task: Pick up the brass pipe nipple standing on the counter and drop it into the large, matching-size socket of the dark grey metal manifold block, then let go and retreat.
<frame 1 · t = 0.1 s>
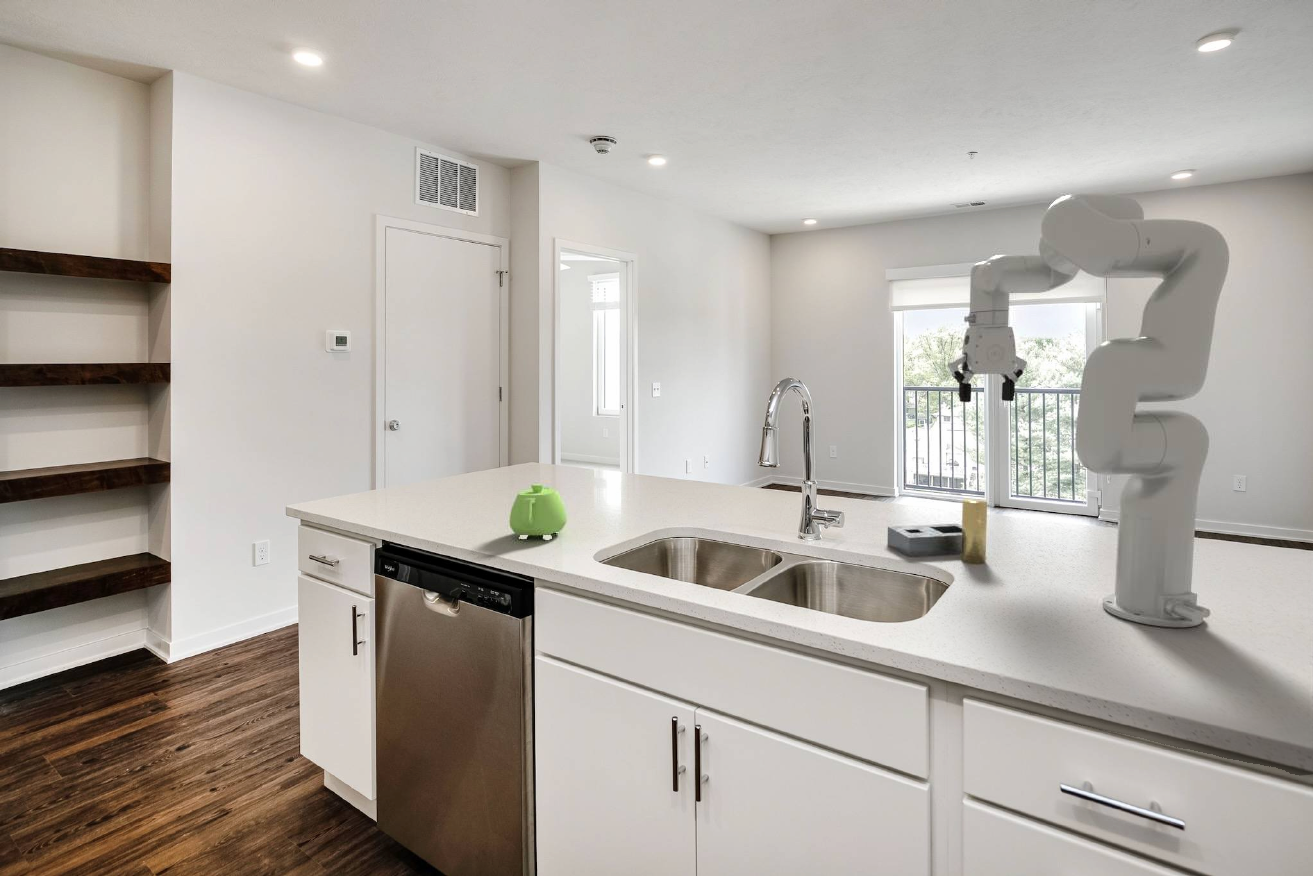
hand: (986, 401, 147), 31 cm above the worktop, fingers open, 9 cm apart
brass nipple: (973, 560, 137), on the worktop
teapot: (539, 536, 165), on the worktop
manifold block: (933, 548, 146), on the worktop
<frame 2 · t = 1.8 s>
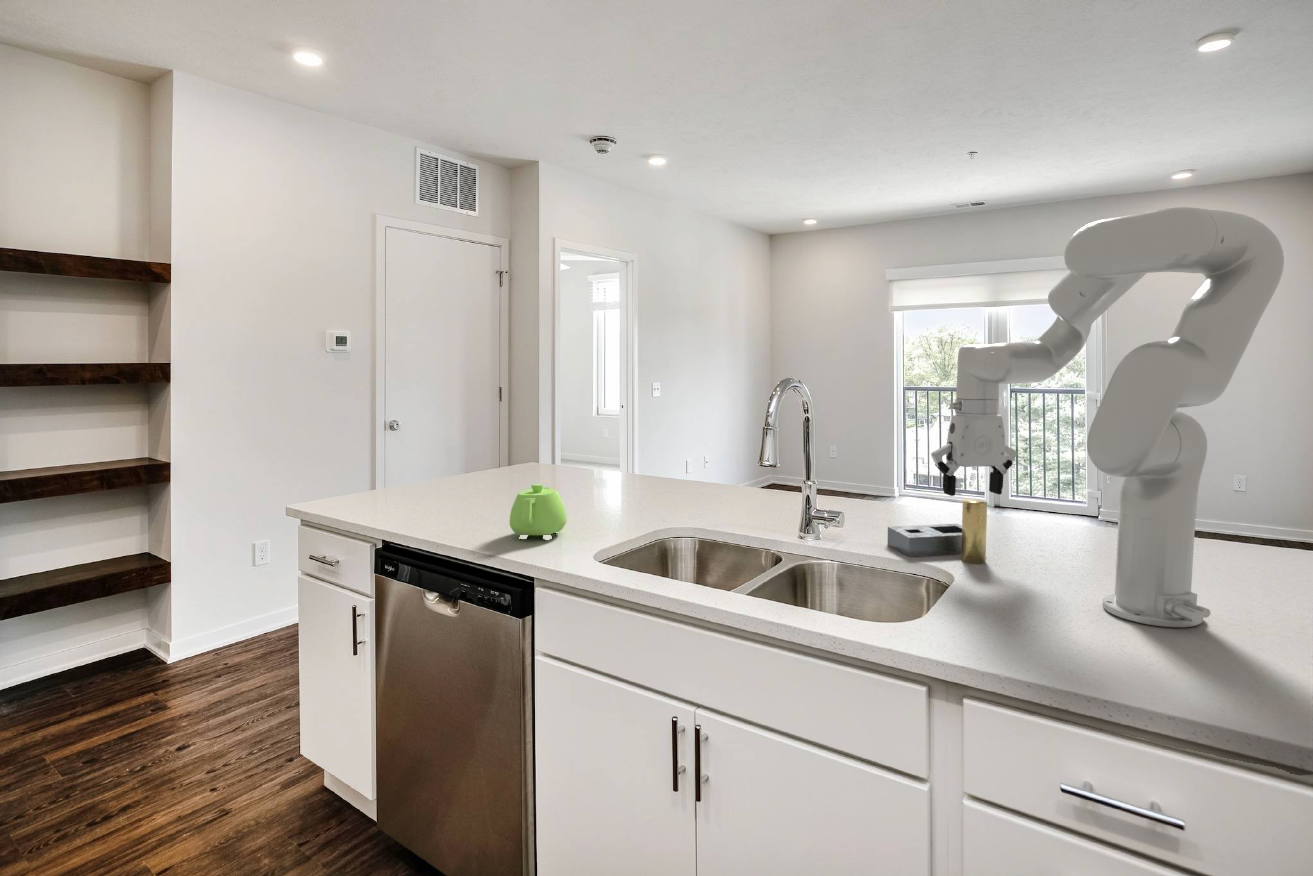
hand: (972, 493, 136), 13 cm above the worktop, fingers open, 9 cm apart
nothing on the worktop moved.
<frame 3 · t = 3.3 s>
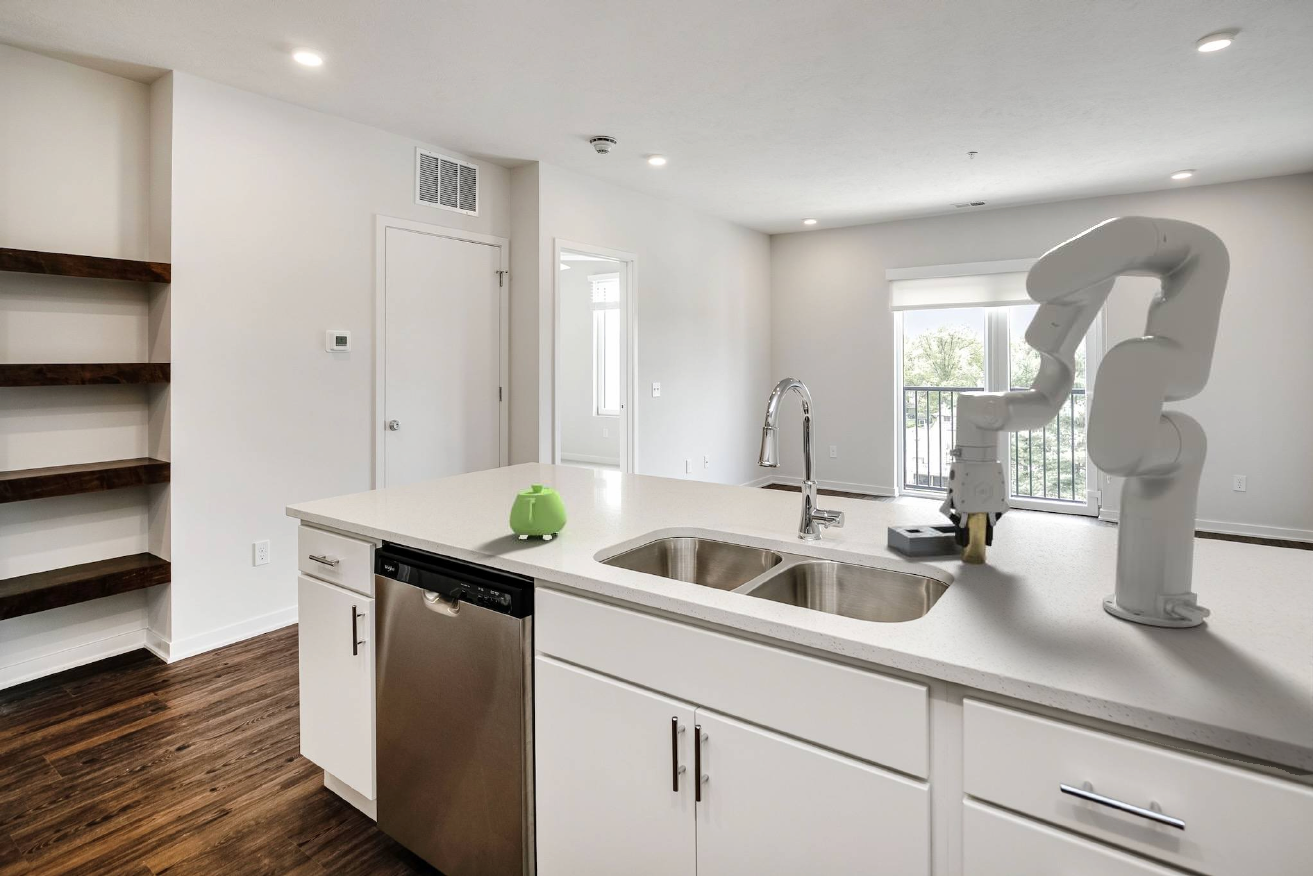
hand: (973, 544, 136), 3 cm above the worktop, fingers closed on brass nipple, 4 cm apart
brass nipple: (973, 560, 137), on the worktop, touching gripper
everything else where it was.
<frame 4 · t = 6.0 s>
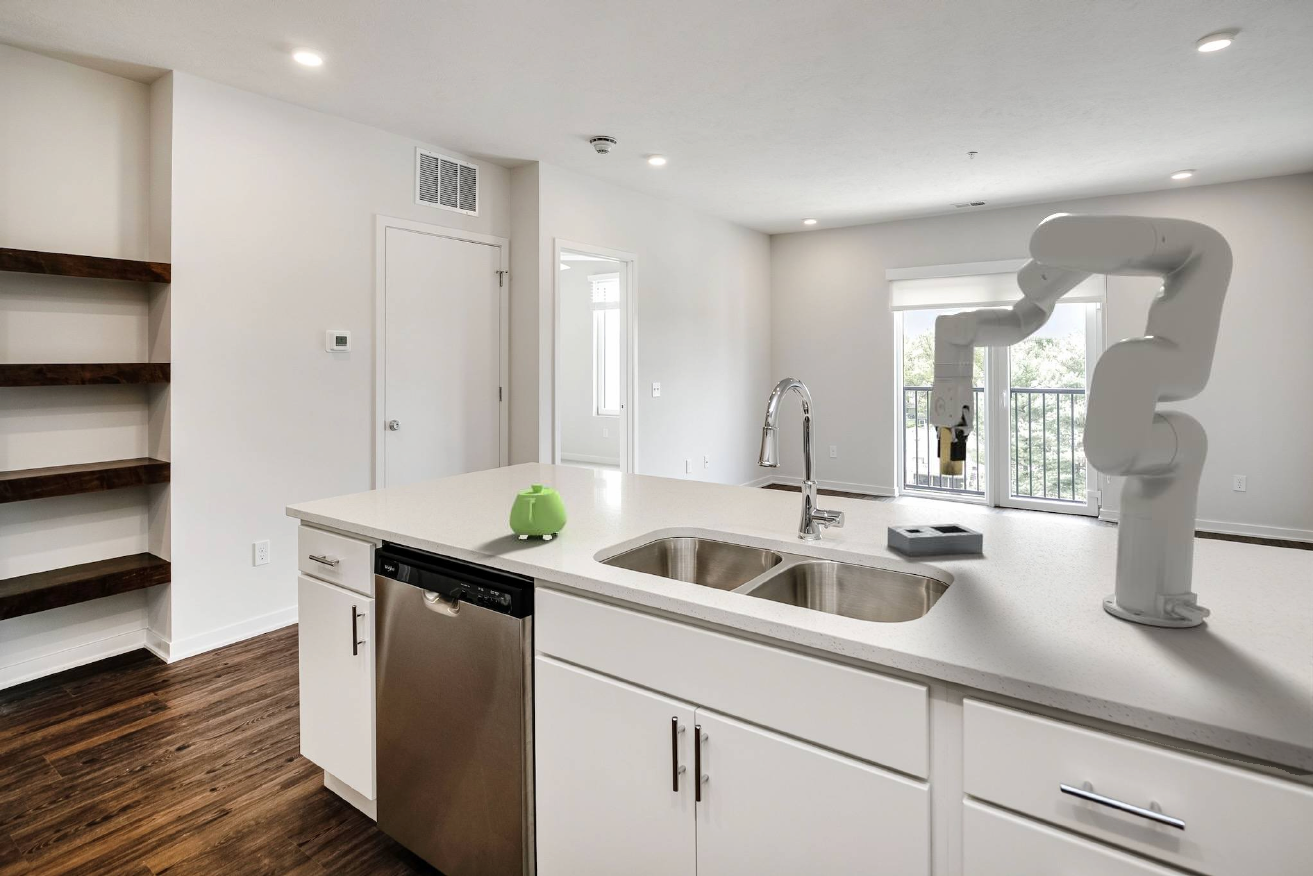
hand: (951, 458, 145), 19 cm above the worktop, fingers closed on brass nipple, 4 cm apart
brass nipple: (951, 474, 145), point 16 cm above the worktop, touching gripper
everything else where it was.
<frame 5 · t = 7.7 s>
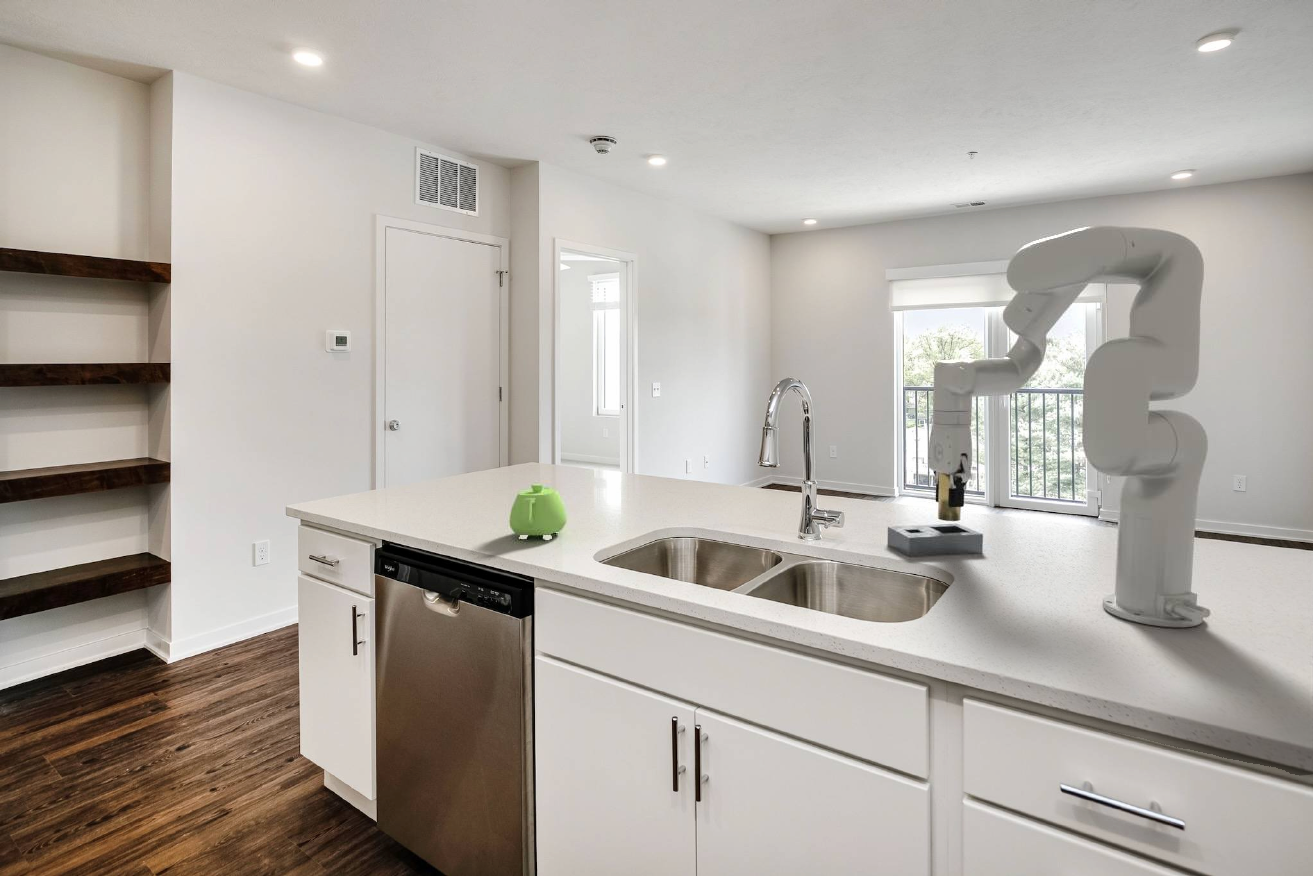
hand: (949, 503, 146), 10 cm above the worktop, fingers closed on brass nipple, 4 cm apart
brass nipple: (949, 518, 146), point 6 cm above the worktop, touching gripper
everything else where it was.
when the fingers open (5 cm above the worktop, at t = 8.9 s): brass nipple drops 2 cm, resting in manifold block.
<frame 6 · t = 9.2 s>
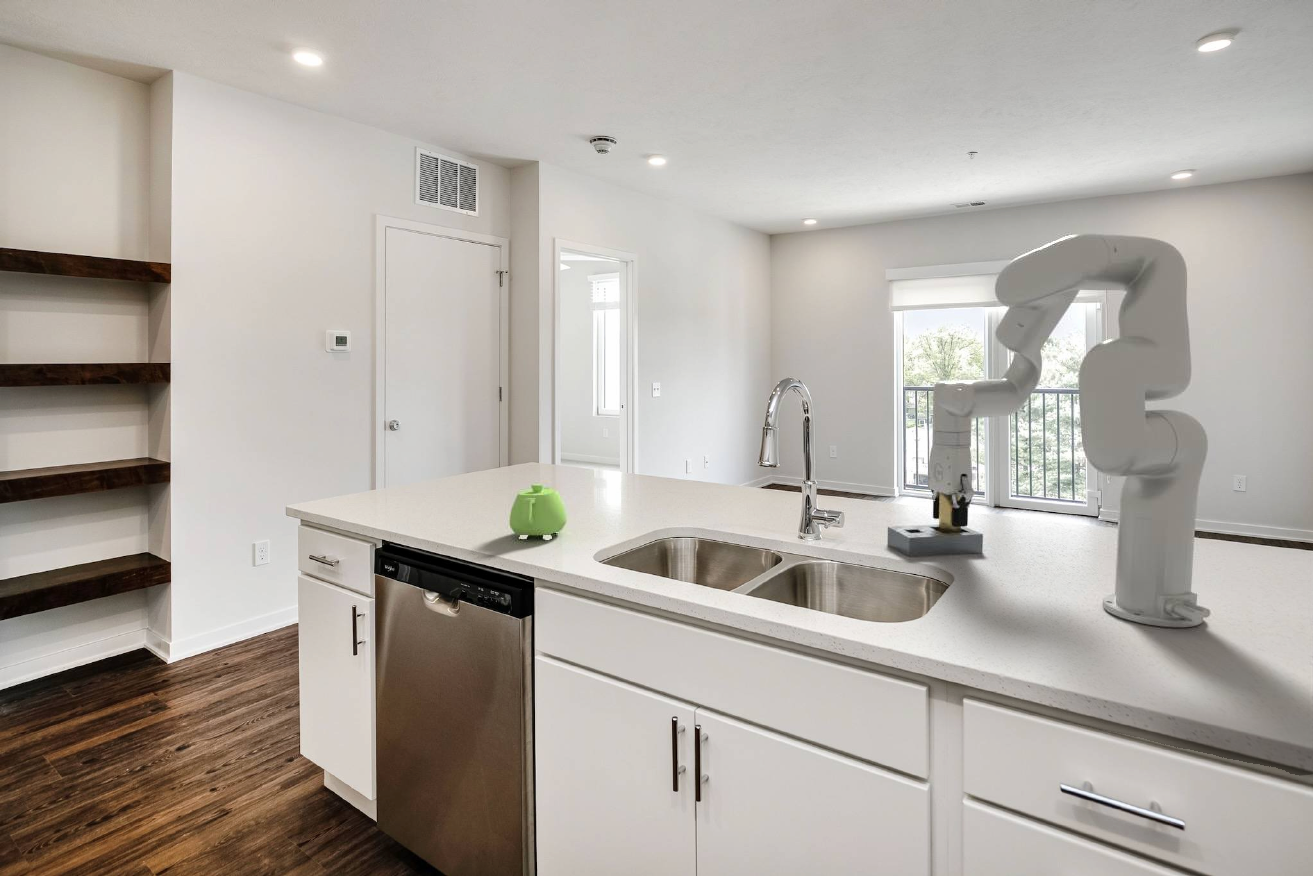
hand: (949, 521, 146), 6 cm above the worktop, fingers open, 7 cm apart
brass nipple: (949, 548, 147), resting in manifold block
everything else where it was.
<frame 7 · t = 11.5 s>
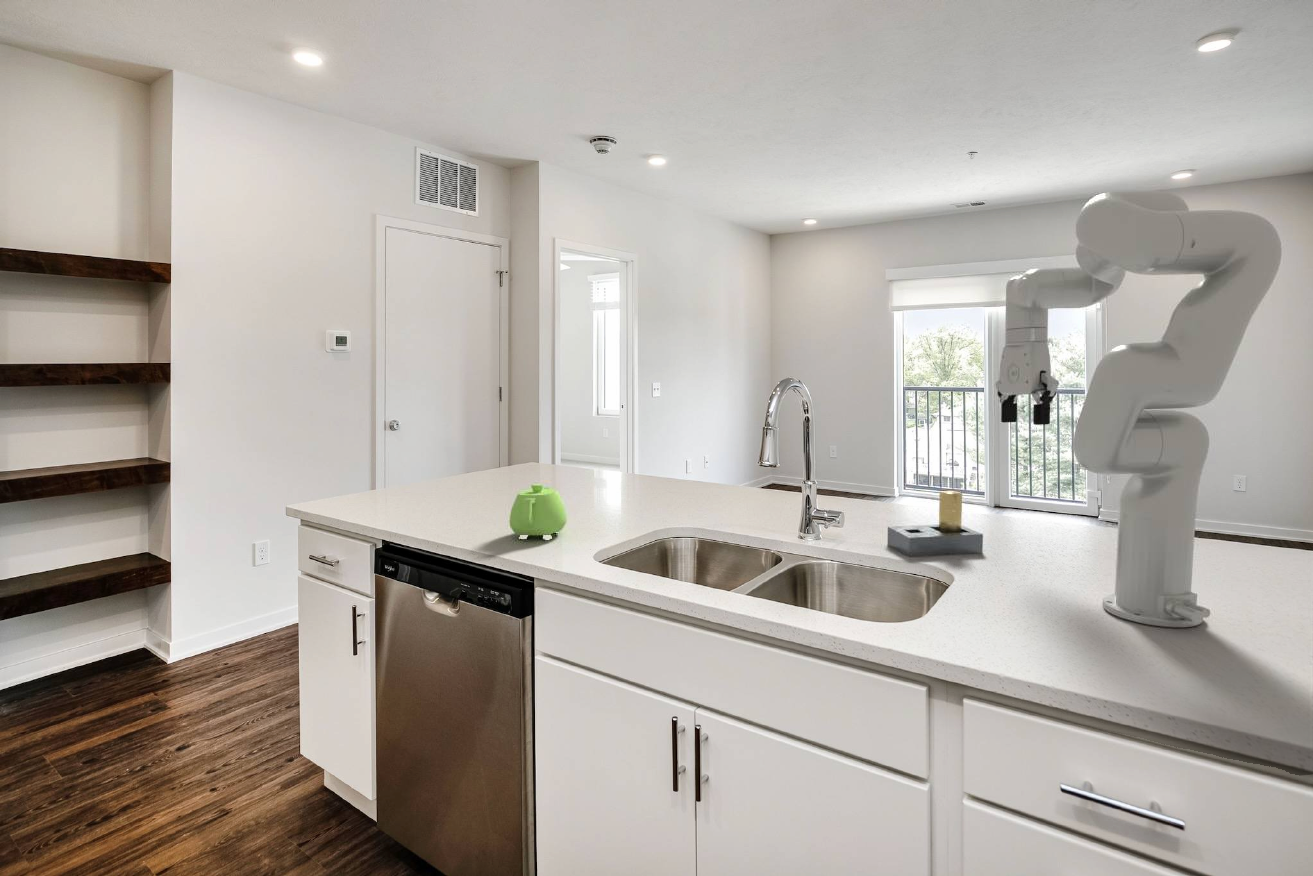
hand: (1024, 423, 139), 27 cm above the worktop, fingers open, 9 cm apart
nothing on the worktop moved.
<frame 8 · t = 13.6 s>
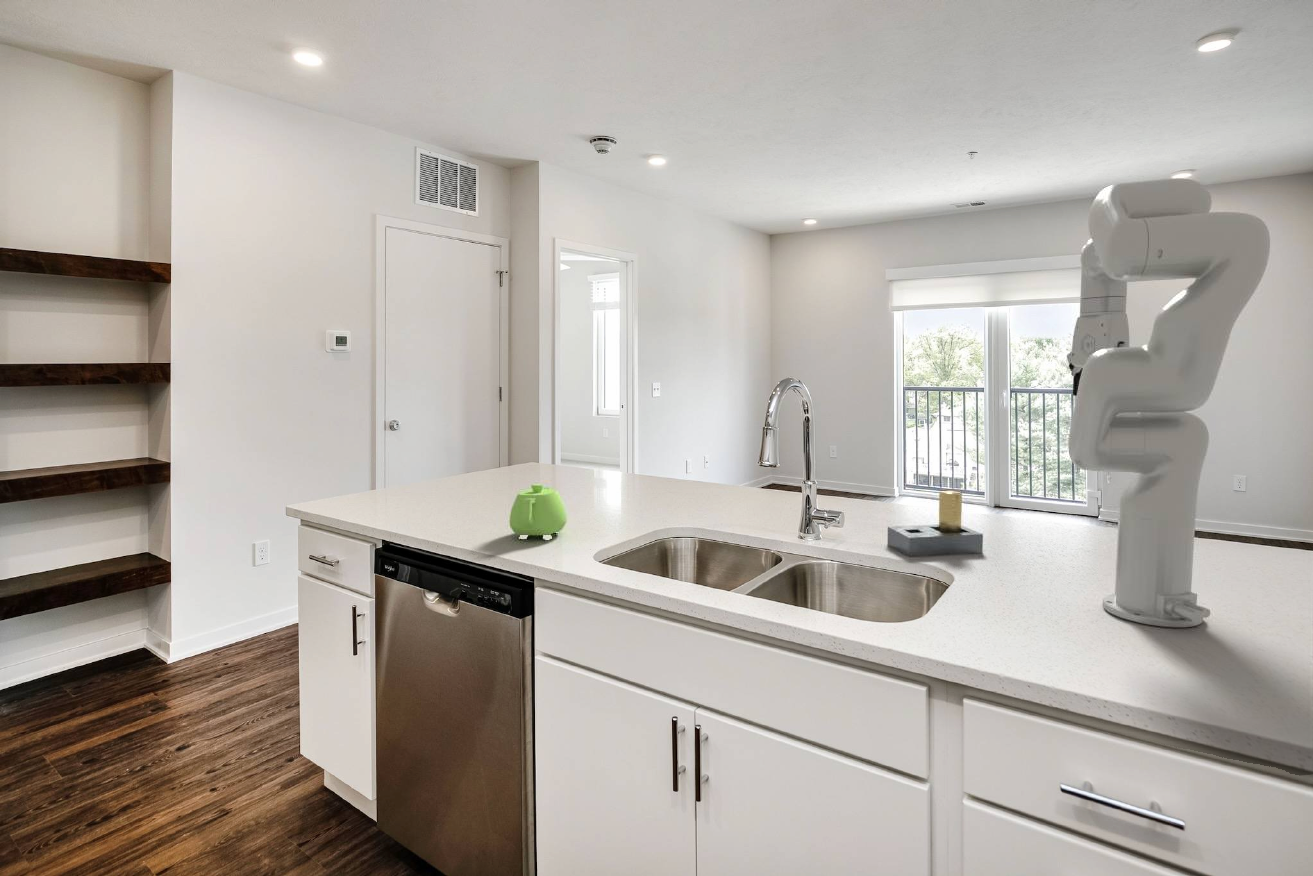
hand: (1098, 396, 134), 32 cm above the worktop, fingers open, 9 cm apart
nothing on the worktop moved.
at the end: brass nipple 0.1 cm from the target spot on the manifold block, point 0.0 cm above the manifold block's base; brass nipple tilted 0°; the gripper is holding nothing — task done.
